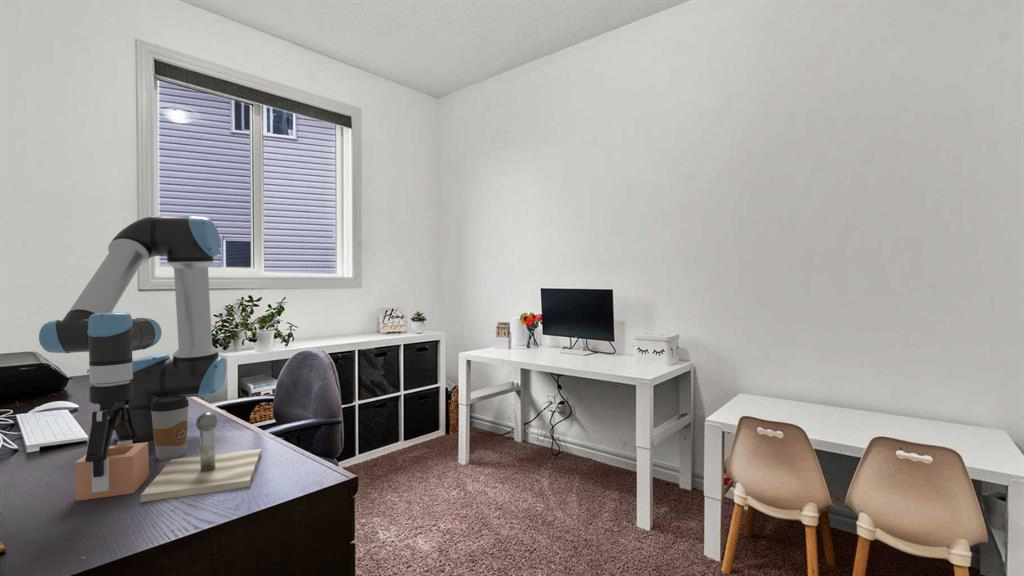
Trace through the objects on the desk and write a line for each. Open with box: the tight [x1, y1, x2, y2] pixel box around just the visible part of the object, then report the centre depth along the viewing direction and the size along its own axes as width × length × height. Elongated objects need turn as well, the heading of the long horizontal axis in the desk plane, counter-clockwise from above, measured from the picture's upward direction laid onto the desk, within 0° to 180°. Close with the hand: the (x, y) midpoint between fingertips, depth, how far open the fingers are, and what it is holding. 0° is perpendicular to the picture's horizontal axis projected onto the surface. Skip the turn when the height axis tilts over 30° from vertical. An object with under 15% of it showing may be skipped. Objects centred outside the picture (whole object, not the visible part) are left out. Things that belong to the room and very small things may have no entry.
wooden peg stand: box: [140, 411, 262, 503], centre depth 117 cm, size 22×20×15 cm
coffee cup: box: [150, 395, 190, 461], centre depth 130 cm, size 8×8×15 cm
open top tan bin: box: [74, 441, 150, 502], centre depth 110 cm, size 10×10×8 cm
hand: (113, 479), depth 110 cm, fingers open, 13 cm apart
